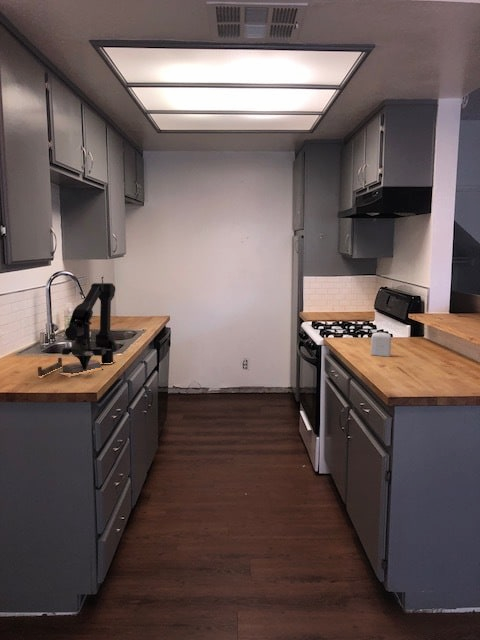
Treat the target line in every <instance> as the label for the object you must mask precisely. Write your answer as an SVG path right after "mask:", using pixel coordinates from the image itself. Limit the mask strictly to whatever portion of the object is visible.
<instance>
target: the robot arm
mask: <svg viewBox="0 0 480 640" xmlns="http://www.w3.org/2000/svg"><path fill="white" fill-rule="evenodd" d="M115 292H116V286H115V285H114V284H113V283H112V282H110V283H109V282H105V283H104V282H99V283H98V282H94V283H92V284H91V285H90V289H89V291H88V292H87V294H86V296H85V298H84V299H83V301H82V303H80V304H78V305H76V307H75V308H74V310H73V312H72V314H71V317H70V320H69V324H68V327H66V329H65V330H64V334H65V337H66V338H67V339H69V340H75V342H74V344H73V345H72V346H65V347H63V348H62V349H61V355H62V356H69V355H70V354H71V353H72V356H73V357H75V358H77V359H78V361H79V362H80V363H81V365H82V367H83V370H86V369H87V366H88V363H89V361H90V360H92V359H91V358H92V357H93V356H96V357H97V356H100V357H101V358H100V359H101V361H100V362H102V363H111V362H113V361H114V352H117V351H118V345H117V343H116V342H115V340H114V339H115V338H114V335H113V333H112V331H111V317H112V316H111V311H112V310H111V308H112V307H111V305H112V300H113V299H114V298H115V294H116V293H115ZM98 299H99V301H100V306H99V307H100V309H99V310H100V312H99V313H100V315H99V316H100V317H99V318H100V319H99V332H98V333H97V334H96V335H95V343H94V344H95V348H93V347H92V345H91V340H92V336H91V333H90V332H91V329H90V325H92V322H91V321H90V320H91V319H92V317H93V313H94V311H93V308H94V307H95V305H96V303H97V301H98Z"/></svg>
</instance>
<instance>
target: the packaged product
mask: <svg viewBox="0 0 480 640" xmlns="http://www.w3.org/2000/svg"><path fill="white" fill-rule="evenodd" d="M100 362H101V361H99V360H96V359H90V361H89V363H88V366H87V369H86V370H83V367H82V365H81V363H80V361H79V362H73V363H67V364H66V363H65V364H64V365H63V364H62V368H61V369H62V370H57V373H58V372H59V373H71V374H73V373H79V372H83V371H87V370H91V369H95V368H102V364H100Z"/></svg>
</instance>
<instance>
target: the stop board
mask: <svg viewBox="0 0 480 640" xmlns="http://www.w3.org/2000/svg"><path fill="white" fill-rule="evenodd" d="M62 359H63V358H62V357H58V358H57V362H56V363H53V364H52V365H50V366H48V367H46V368H43V366H38V367H37V377H38V376H42V375H45V374H47V373H49V372H51V371H53V370H55V369H58V368H60V367H62V366H63V363H62V362H63V360H62Z"/></svg>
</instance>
